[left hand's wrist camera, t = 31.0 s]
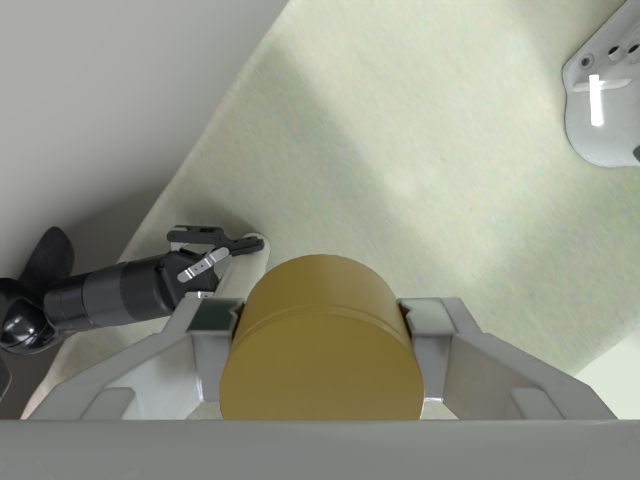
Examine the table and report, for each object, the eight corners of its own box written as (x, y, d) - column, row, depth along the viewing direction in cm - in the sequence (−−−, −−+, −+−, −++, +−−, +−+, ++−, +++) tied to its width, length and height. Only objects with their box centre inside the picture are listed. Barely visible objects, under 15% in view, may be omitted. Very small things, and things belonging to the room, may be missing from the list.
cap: (356, 224, 9) (370, 277, 7) (425, 351, 10) (456, 433, 8) (211, 297, 10) (176, 369, 7) (292, 407, 11) (284, 499, 9)
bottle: (272, 234, 55) (240, 343, 33) (269, 264, 56) (237, 387, 34) (238, 230, 54) (184, 337, 32) (236, 260, 56) (183, 381, 34)
